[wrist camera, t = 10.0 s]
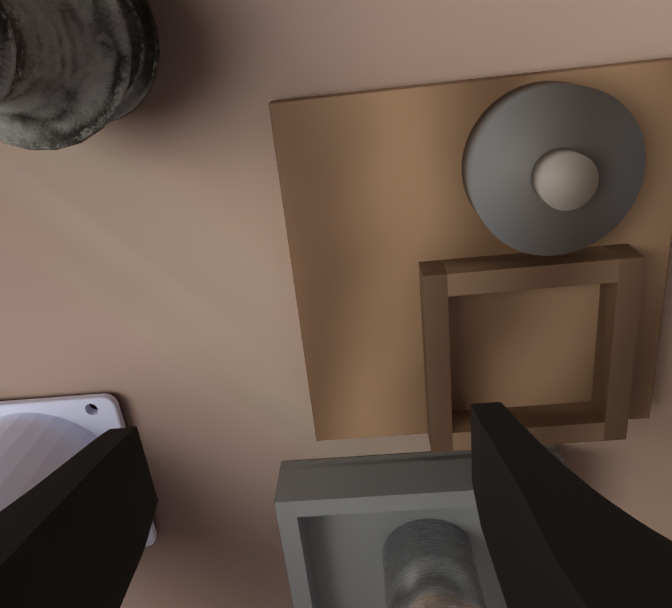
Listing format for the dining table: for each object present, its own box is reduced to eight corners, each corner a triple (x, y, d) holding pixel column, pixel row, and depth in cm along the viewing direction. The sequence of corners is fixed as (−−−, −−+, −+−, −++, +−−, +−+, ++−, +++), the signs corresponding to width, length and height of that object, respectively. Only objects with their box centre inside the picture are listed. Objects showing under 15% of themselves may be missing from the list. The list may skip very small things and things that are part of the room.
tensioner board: (318, 426, 25) (311, 492, 21) (272, 100, 20) (253, 114, 16) (637, 403, 24) (688, 468, 21) (677, 57, 19) (754, 60, 15)
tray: (313, 645, 30) (309, 694, 28) (281, 461, 26) (274, 502, 24) (545, 635, 30) (561, 684, 27) (555, 443, 25) (575, 483, 23)
